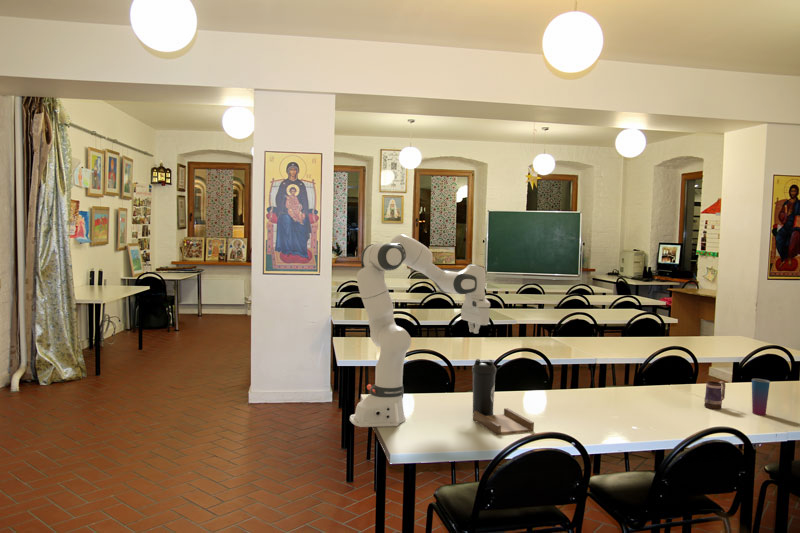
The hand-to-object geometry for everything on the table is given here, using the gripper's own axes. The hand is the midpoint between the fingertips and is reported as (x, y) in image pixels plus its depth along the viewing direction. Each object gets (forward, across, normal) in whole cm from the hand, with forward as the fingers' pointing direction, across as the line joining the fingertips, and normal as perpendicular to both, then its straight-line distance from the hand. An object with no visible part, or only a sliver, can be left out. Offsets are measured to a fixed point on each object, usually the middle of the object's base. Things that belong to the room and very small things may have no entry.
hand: (473, 332), depth 253 cm
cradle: (+33, +27, 0) cm, 43 cm away
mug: (+33, +30, +110) cm, 119 cm away
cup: (+33, +43, +121) cm, 133 cm away
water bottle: (+33, +10, 0) cm, 35 cm away
